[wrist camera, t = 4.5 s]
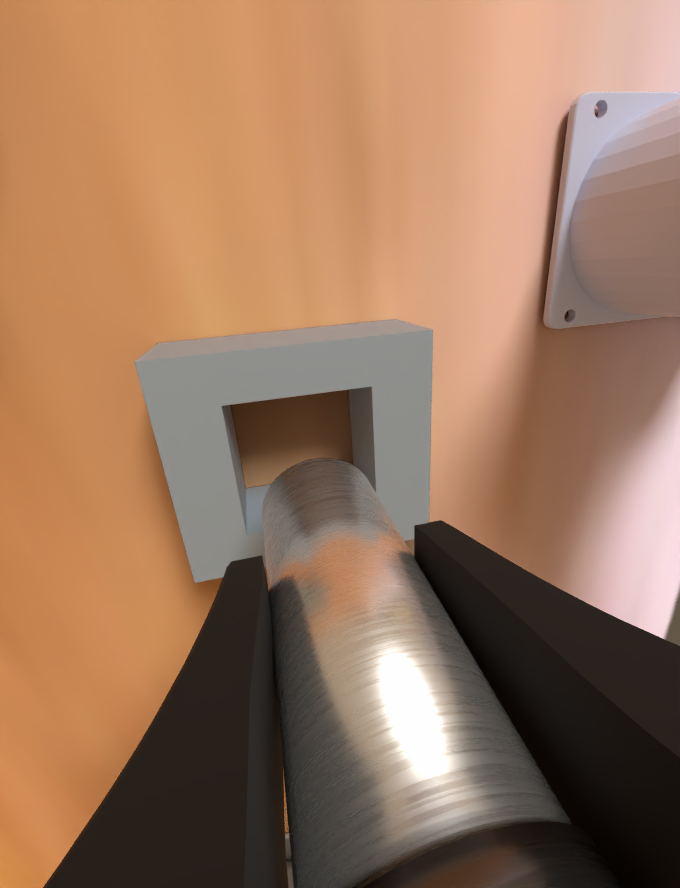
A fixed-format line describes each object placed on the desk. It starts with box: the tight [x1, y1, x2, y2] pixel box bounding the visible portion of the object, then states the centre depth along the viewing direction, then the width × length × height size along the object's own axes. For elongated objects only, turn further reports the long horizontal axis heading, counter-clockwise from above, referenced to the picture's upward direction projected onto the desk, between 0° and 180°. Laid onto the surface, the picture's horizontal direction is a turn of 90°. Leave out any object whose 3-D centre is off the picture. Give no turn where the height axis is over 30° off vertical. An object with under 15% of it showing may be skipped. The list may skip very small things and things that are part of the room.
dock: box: [135, 319, 433, 583], centre depth 15 cm, size 9×8×4 cm
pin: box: [262, 458, 622, 888], centre depth 8 cm, size 3×3×9 cm
